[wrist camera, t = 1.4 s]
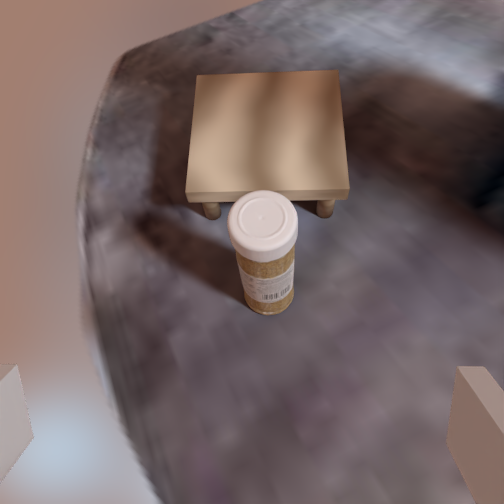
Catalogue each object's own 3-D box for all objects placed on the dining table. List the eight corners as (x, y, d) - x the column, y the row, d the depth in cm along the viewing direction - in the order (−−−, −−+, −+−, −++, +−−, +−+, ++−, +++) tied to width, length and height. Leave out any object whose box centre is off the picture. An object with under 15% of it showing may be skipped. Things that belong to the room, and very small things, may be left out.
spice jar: (290, 267, 41) (293, 183, 29) (296, 314, 39) (303, 245, 27) (241, 272, 41) (224, 190, 29) (245, 319, 39) (228, 253, 27)
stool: (332, 113, 49) (338, 69, 43) (341, 224, 43) (349, 189, 37) (206, 117, 50) (196, 75, 44) (197, 226, 44) (185, 192, 38)
